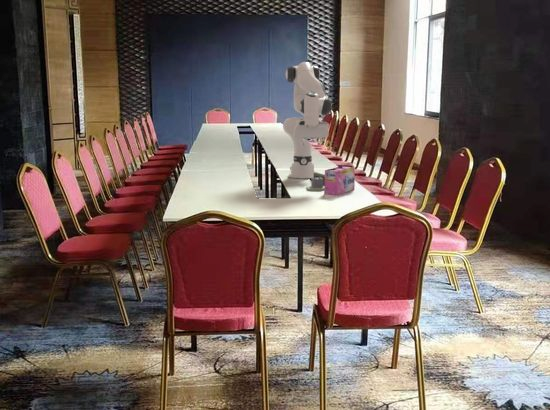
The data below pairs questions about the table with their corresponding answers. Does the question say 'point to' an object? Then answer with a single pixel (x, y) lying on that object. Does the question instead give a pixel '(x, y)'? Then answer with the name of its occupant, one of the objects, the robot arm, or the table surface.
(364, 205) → the table surface
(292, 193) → the table surface
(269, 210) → the table surface
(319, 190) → the post board
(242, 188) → the table surface
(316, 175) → the handheld radio
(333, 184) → the gum box
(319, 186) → the collar
